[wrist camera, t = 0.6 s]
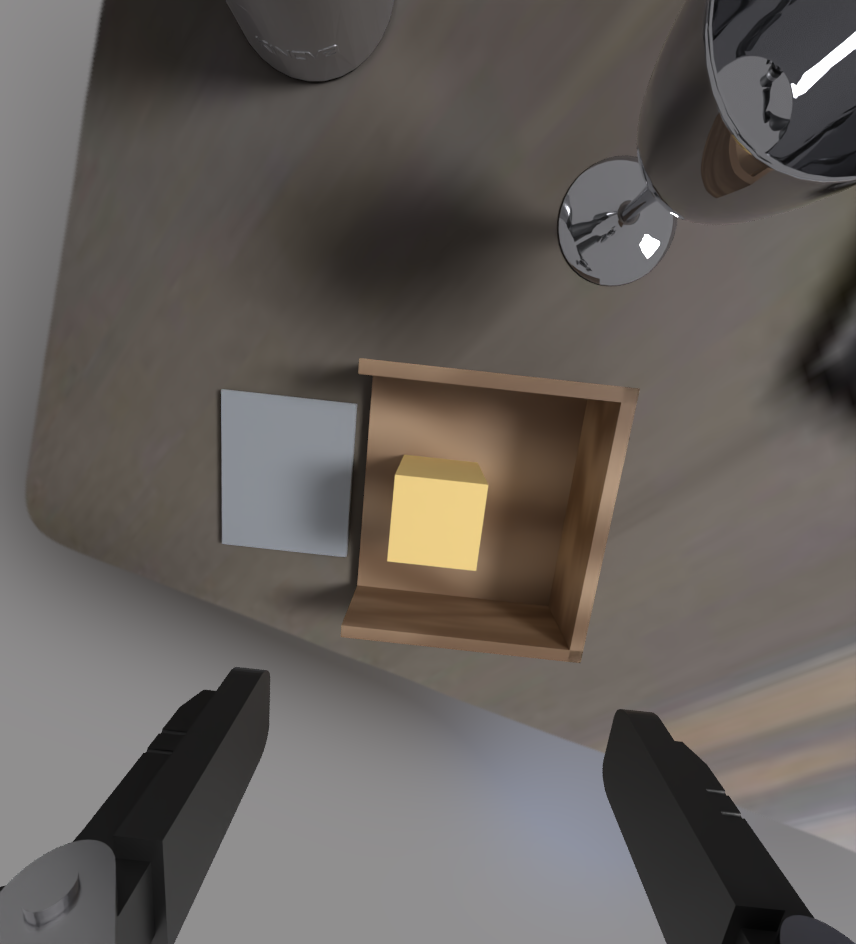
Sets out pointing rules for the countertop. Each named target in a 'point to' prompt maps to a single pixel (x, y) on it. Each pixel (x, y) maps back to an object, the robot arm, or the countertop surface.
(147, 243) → the countertop surface
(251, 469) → the mat
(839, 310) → the countertop surface
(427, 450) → the box
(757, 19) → the wine glass
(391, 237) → the countertop surface
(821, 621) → the countertop surface
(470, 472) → the block
